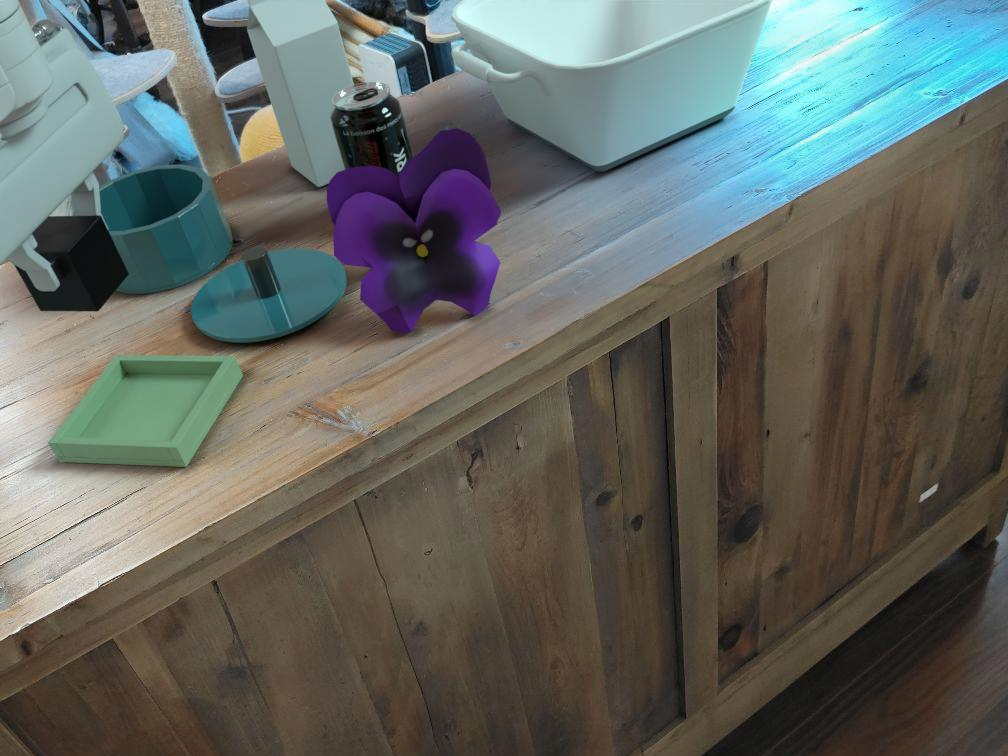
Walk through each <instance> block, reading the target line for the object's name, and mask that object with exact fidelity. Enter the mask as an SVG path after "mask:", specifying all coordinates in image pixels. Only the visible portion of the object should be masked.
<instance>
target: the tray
mask: <svg viewBox="0 0 1008 756" xmlns="http://www.w3.org/2000/svg"><path fill="white" fill-rule="evenodd" d="M243 377H244V374H243V372H242V369H241V366H240V365H239V362H238V360H237V357H236V356H235V355H175V354H174V355H173V354H172V355H171V354H170V355H167V354H165V355H163V354H115V355H114V356H113V358H112V359H111V360H110V362H109V363H108V364H107V365H106V367H105V368H104V369H103V370H102V372H101V373H100V374H99V376H98V377H97V378H96V380H95V381H94V382H93V384H92V385H91V386H90V387H89V388H88V390H87V391H86V392H85V394H84V395H83V397H81V399H80V401H79V402H78V403H77V404H76V406H75V407H74V408H73V410H72V411H71V412H70V414H69V415H67V417H66V418H65V420H64V421H63V423H62V424H61V425H60V426H59V428H58V429H57V430H56V431H55V433H54V434H53V436H52V437H51V438H50V439H49V441H48V442H47V444H48V446H49V447H50V449H51V450H52V452H53V453H54V455H55V456H56V458H57V460H58V461H59V462H60V463H75V464H76V463H77V464H100V465H127V466H147V467H148V466H150V467H176V468H178V467H179V468H187V467H188V465H189V464H190V462H191V460H192V459H193V457H194V455H195V454H196V453H197V451H198V449H199V448H200V446H201V444H202V443H203V441H204V439H205V438H206V437H207V435H208V434H209V432H210V430H211V428H212V427H213V425H214V424H215V422H216V420H217V419H218V417H219V415H220V414H221V412H222V410H223V409H224V407H225V406H226V404H227V403H228V401H229V399H230V398H231V397H232V394H233V393H234V391H235V390H236V388H237V386H238V385H239V383H240V381H241V380H242V378H243Z"/></svg>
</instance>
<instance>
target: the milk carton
mask: <svg viewBox="0 0 1008 756" xmlns="http://www.w3.org/2000/svg"><path fill="white" fill-rule="evenodd" d="M247 3H248V6H249V7H248V15H247V24H246V31H247V33H248V37H249V41H250V43H251V46H252V50H253V52H254V55H255V59H256V62H257V64H258V68H259V70H260V74H261V77H262V80H263V83H264V86H265V89H266V92H267V94H268V95H267V96H268V98H269V101H270V105H271V107H272V111H273V114H274V116H275V120H276V122H277V126H278V128H279V132H280V135H281V137H282V141H283V144H284V147H285V151H286V153H287V155H288V159H289V162H290V165H291V167H292V168H293V169H295V171H297V172H298V173H299V174H300V175H302V176H303V177H305V179H307V180H308V181H309V182H311V183H312V184H314V185H315V186H316V187H317V188H321V187H324V186H326V185H329V182H330V180H331V179H332V178H333V176H334V175H335V174H336V173H337V172H340V171H343V170H345V169H344V165H343V162H342V158H341V155H340V151H339V148H338V144H337V141H336V138H335V134H334V131H333V127H332V123H331V113H332V111H333V110H334V107H335V106H334V105H333V103H332V99H333V97H334V95H335V94H336V93H338V92H339V91H341V90H342V89H344V88H346V87H349V86H352V85H355V83H354V80H353V76H352V72H351V69H350V64H349V60H348V57H347V53H346V49H345V45H344V42H343V38H342V35H341V31H340V27H339V23H338V21H337V19H336V17H335V15H334V14H333V12H332V10H331V8H330V7H329V5H328V4H327V2H326V0H247Z"/></svg>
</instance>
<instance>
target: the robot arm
mask: <svg viewBox="0 0 1008 756" xmlns="http://www.w3.org/2000/svg"><path fill="white" fill-rule="evenodd" d="M124 138H125V133H124V122H123V119H122V117H121V114H120V112H119V110H118V108H117V106H116V104H115V102H114V100H113V98H112V97H111V95H110V93H109V91H108V89H107V87H106V85H105V84H104V82H103V80H102V78H101V76H100V75H99V73H98V71H97V70H96V69H95V67H94V65H93V64H92V62H91V61H90V59H89V58H88V57H87V55H85V53H83V52H82V51H81V50H80V49H79V48H78V45H77V43H76V40H75V39H74V36H73V35H72V33H71V32H70V30H68V28H66V27H64V26H62V25H61V24H59V23H57V22H54V21H51V19H47V18H44V19H41V20H39V21H37V22H36V23H35V24H34V25H33V26H31V24H30V22H29V20H28V18H27V15H26V13H25V12H24V10H23V8H22V5H21V3H20V1H19V0H0V266H1V265H2V264H3V263H5V261H8V262H10V263H11V264H12V265H13V266H14V265H16V266H18V267H19V268H21V269H22V270H25V271H26V272H27V274H28V276H29V277H30V279H31V281H32V283H33V284H34V286H35V287H36V288H37V289H38V290H40V291H55V290H56V289H57V288H58V287H59V286H60V285H61V284H62V283H63V282H64V280H65V279H66V275H65V273H64V271H62V267H61V265H60V264H59V262H58V260H57V259H44V258H43V257H42V256H41V255H39V254H38V253H37V252H35V251H34V250H33V249H35V248H36V247H37V242H36V240H35V238H34V236H33V235H32V233H33V232H34V231H35V230H36V229H37V228H38V227H39V226H40V225H41V224H42V223H43V222H44V221H45V220H46V219H47V218H48V217H49V216H52V214H53V213H54V212H55V211H56V210H57V209H58V208H59V207H60V206H61V205H62V204H63V203H64V201H66V200H67V199H68V197H69V196H70V198H71V203H72V207H73V213H75V216H99V215H100V216H101V217H102V219H103V216H102V214H101V212H100V211H101V206H100V193H99V187H100V182H99V181H98V179H97V177H96V174H95V173H94V171H95V170H96V169H97V168H98V167H99V166H100V165H101V164H103V162H104V161H105V160H106V159H107V158H108V157H109V156H110V155H112V153H113V152H114V151H115V150H116V149H117V148H118V147H119V146H120V145H121V144H122V143H123V142H124V140H125V139H124ZM103 221H104V219H103ZM104 223H105V221H104ZM105 225H106V223H105ZM106 227H107V225H106ZM107 229H108V227H107Z"/></svg>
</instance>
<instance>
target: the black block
mask: <svg viewBox="0 0 1008 756" xmlns="http://www.w3.org/2000/svg"><path fill="white" fill-rule="evenodd" d="M32 235H33V236H34V238H35V240H36V242H37V247H36V248H35V249H33V250H34V251H35V252H37V253H38V254H39V255H41V256H42V257H43V258H44V259H57V260H58V262H59V264H60V265H61V267H62V271H64V273H65V275H66V279H65V280H64V282H63V283H62V284H61V285H60V286H59V287H58V288H57V289H56V290H55V291H40V290H38V289H37V288H36V287H35V286H34V284H33V283H32V281H31V279H30V277H29V276H28V274H27V272H26V271H25V270H22V269H21V268H19V267H18V266H16V265H14V264H13V266H14V268H15V269H16V271H17V272H18V275H19V276H20V278H21V280H22V282H23V284H24V285H25V286H26V288H27V290H28V292H29V294H30V296H31V298H32V299H33V300H34V302H35V304H36V306H37V308H38V309H39V311H40V312H96V313H97V312H99V311H101V309H102V308H103V306H104V305H105V304H106V303H107V302H108V300H109V299H110V298H111V297H112V296H113V294H114V293H116V292H117V291H116V289H117V288H118V287H119V286H120V285H121V283H122V282H123V281H124V280H125V279H126V277H127V276H128V275H129V273H128V271H127V269H126V267H125V264H124V262H123V260H122V258H121V256H120V254H119V252H118V250H117V248H116V246H115V244H114V242H113V240H112V237H111V235H110V233H109V231H108V229H107V227H106V225H105V223H104V221H103V219H102V217H101V216H100V215H99V216H73V215H50V216H49V217H48V218H47V219H46V220H45V221H44V222H43V223H42V224H41V225H40V226H39V227H38V228H37V229H36V230H35V231H34V232H33V233H32Z"/></svg>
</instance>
